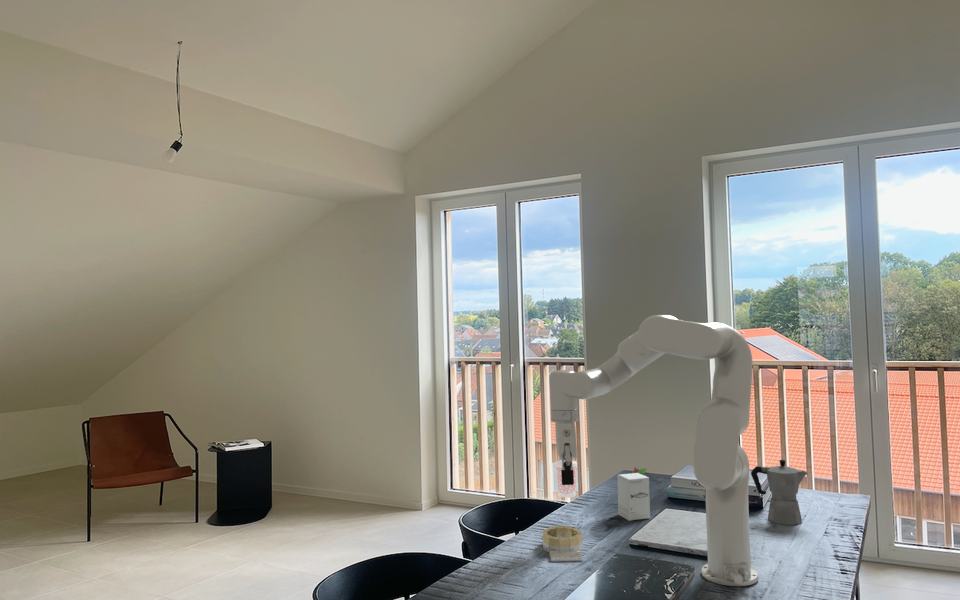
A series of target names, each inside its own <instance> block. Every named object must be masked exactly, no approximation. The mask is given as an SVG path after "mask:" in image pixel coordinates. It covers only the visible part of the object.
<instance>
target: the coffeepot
mask: <svg viewBox="0 0 960 600" xmlns="http://www.w3.org/2000/svg"><path fill="white" fill-rule="evenodd" d="M758 473H759V474H763V475H766V477H767V482H768V487H769V492H771V497H770V501H769V505H768V515H767V519H768V521H769V522H771V523H773V524H776V525H781V526H782V525H783V526H797V525H800V524H801V523H802V522H803V518H802V514H801V510H800V505H799V501H798V499H797V494H798V493H799V486H800V484H801V482H802V480H803V479H804V478H805V477H806V475H808V472H807V471H806V470H805V471H804V470H801V469H798V468H795V467H792V466H787V465H786V460H785V459H779V465H777V466H776V465H775V466H769V467H768V466H760V465H759V466H755V467H754V468H753V469H751V471H750V475H751V477H752V480H753V483H754V485H755V487H756V490H757V493H758V494H759V495H766V494H767V491H766V490H763V489H762V484H761V482H760V480H759V479H760V478H759V475H758Z"/></svg>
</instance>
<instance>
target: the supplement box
mask: <svg viewBox="0 0 960 600" xmlns="http://www.w3.org/2000/svg"><path fill="white" fill-rule="evenodd" d="M647 476H648V475H646V476H644V475H642V474H639V473H623V474H622V473H620V474H617V475H616V479H617V509H618V511H617V514H618V515H619V516H620V517H622V518H624V519H625V520H627V521H628V522H631V521H635V520H647V519H651V503H650V502H651V501H650V500H651V499H650V479H649V478H650V476H648V477H647Z"/></svg>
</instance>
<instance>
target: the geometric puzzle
mask: <svg viewBox="0 0 960 600" xmlns="http://www.w3.org/2000/svg"><path fill="white" fill-rule="evenodd" d="M646 472H647V468H640V469H639V468H638V467H634V468H633V470H632V472H631V473H639V474H642V475H644V476H647V477H649V475H647V474H645V473H646ZM631 473H630V474H631ZM649 480H651V478H650V477H649Z"/></svg>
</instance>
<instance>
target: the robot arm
mask: <svg viewBox="0 0 960 600" xmlns="http://www.w3.org/2000/svg"><path fill="white" fill-rule="evenodd" d="M666 354H667V355H668V354H669V355H673V356H676V357H677V356H678V357H682V358H688V359H693V360H700V361H708V360H712V359H714V360H715V361H714V363H715V368H714V373H713V379H712V392H711V400H710V401H709V402H708V403H706V404H705V405H704V406H703V407H702V408H701V409H700V411H699V413H698V416H697V417H696V418H697V419H696V424H695V435H694V445H693V455H692V456H693V457H692V458H693V459H692V469H693V474H694V477H695V478H696V480H697V482H698V483H699V484H700V485H701V486H702V487H704V488H705V518H706V519H705V521H706V542H707V543H706V544H707V545H706V546H707V547H706V548H707V550H706V551H707V563H706V564H704V565H702V566H701V571H700V573H701V576H702V577H703V578H704V579H706V580H707V581H708V582H709V581H710V582H711V583H714V584H718V585H722V586H729V587H746V586H748V587H749V586H752V585H754V584H756V583H757V582H758V581H759V573H758V572H757V570H755V569H754V568H752V567H751V561H752V560H751V541H750V540H751V538H750V536H751V535H750V517H749V516H750V515H749V512H750V510H749V507H750V506H749V505H750V504H749V482H750V481H749V480H750V461H749V457H748V455H747V452H746V451H745V450H744V448H743V447H742V446H741V445H740V444H739V442H740V436H741V435H742V434H743V433H745V431H747V429H748V427H749V423H750V410H751V398H752V397H751V396H752V380H753V379H752V378H753V355H752V351H751V348H750V345H749V344H748V342H747V340H746V338H745V337H744V336H743V335H742V334H741V333H740V332H739V331H738V330H736V329H735V328H733V327H732V326H730V325H727V324H725V323H722V322H716V321H715V322H714V321H712V322H705V323H704V322H702V323H701V322H695V321H689V320H688V321H687V320H682V319H678V318H677V317H675V316H673V315H670V314H656V315H655V314H654V315H650V316H649V317H646V318H645V319H644V320H643V321H642V322H641V324H640V325H639V328H638V330H637V331H635V332H634V333H633V334H631V335H630V336H628V337H627V338H625V339H624V340H621V342H619V344H618V346H617V351H616V352H615V354H614V355H612V356H611V357H610V358H609V359H607V360H606V361H604V362H603V363H602V364H600V365H599V366H597V367H595V368H590V369H585V370H581V371H574V370H569V369H559V370H553V371H551V372H550V373H549V402H550V403H549V404H550V405H549V406H550V409H549V410H550V422H551V423H554V425H555V426H554V427H555V429H554V430H555V444H556V451H557V457H558V458H559V461H560V460H562V470H561V476H562V485H573V484H574V473H573V465H572V461H573V459H575V460H577V459H578V448H577V432H576V422H579V404H578V403H579V402H578V401H579V400H589V399H590V400H591V399H593V398H597V397H600V396H604V395H606V394H608V393H610V392H612V391H613V390H614V389H616V388H617V387H619V386H621V385H622V384H624V383H625V382H626V381H628V380H629V379H630V378H632V377H633V376H634V375H636V374H638V372H640V370H642V369H644V368H645V367H647V366H648V365H650V364H652V363H653V362H654V361H656V360H657V359H659V358H661V357H662V356H663V355H666ZM564 461H565V462H564Z"/></svg>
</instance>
